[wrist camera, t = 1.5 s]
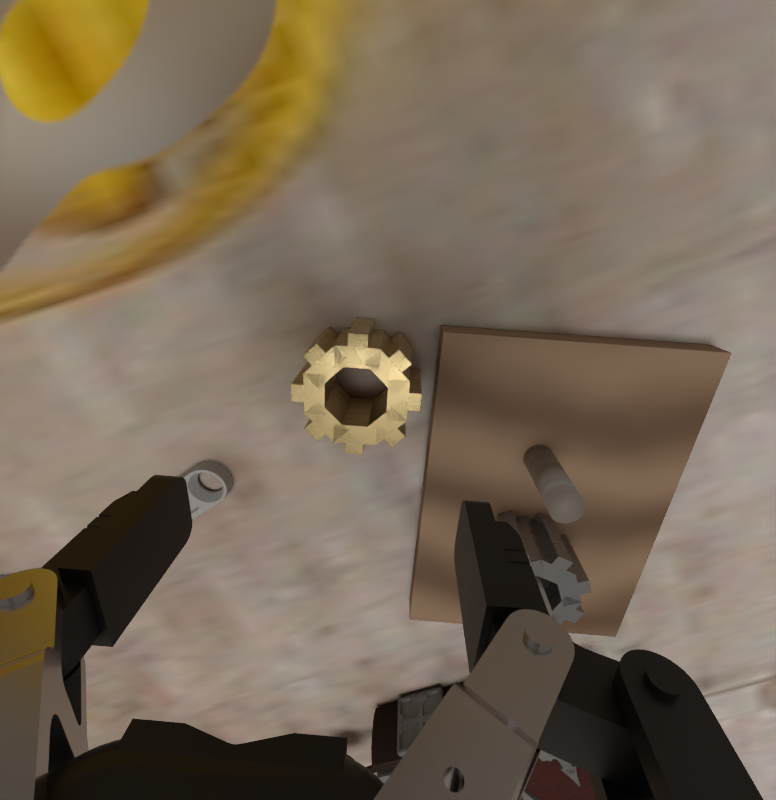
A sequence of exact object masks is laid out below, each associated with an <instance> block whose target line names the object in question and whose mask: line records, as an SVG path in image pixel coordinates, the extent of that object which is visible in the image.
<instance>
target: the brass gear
mask: <svg viewBox="0 0 776 800" xmlns="http://www.w3.org/2000/svg"><path fill="white" fill-rule="evenodd" d="M373 329H374V318H360V317H357V318H356V320H355V322H354V324H353V325H352V327H351V328H345V329H344V330H343V331H341V332H340V333H339V334H337V333H336V332H335V331H334V330H333V329H332V328H331V327H329V328H328V329H327V330H326V331H324V332H323V333H322V334H321V335H320V336H319V337H318V338H317V339H316V341H315V342H314V343H313V344H312V345H311V347H310V348H309V349H308V350H307V352H306V353H305V354H304V355H303V357H304V358H305V359H306V360H307V361H308V362H307V363H306V365H305V366H304V367H303V369H302V370H301V371H300V373H299V374H298V375H297V377H296V378H295V379H294V381H293V382H292V384H291V399H292V402H303V403H304V414H305V415H306V416H307V417H308V418H309V420H308V422H307V424H306V426H305V428H304V429H305V430H306V431H307V432H308V433H309V434H310V435H311V436H312V437H313V438H314V439H315V440H317V441H318V440H319V439H320V438H321V437H323V436H324V435H325V434H326V435H327V436H328V437H329V438H330V439H331V440H332V441H333V442H338V443H345V453H346V454H359V455H363V451H364V446H365V445H376V444H377V443H379V442H380V441H381V440H382V439H384V440H385V441H386V442H387V443H388V444H389V445H390V446H391V447H392V446H393V445H395V444H396V443H397V442H399V441H400V440H401V439H403V438H404V437H405V422H406V421H407V410H409V411H420V405H421V395H422V392H421V380H420V370H413V369H410V365H412V355H411V343H410V342H409V341H408V340H407V339H406V338H405V336H404V335H403V334H402V333H401V332H399V333H398V334H397V335H396V336H394V337H393V338H392V339H391V337H390V336H389V335H388V334H387V333H386V332H385V331H383V330H373ZM343 367H350V368H363V369H371V370H372V371H373V373H374V374H375V375H376V376H377V377H378V378H379V379H380V380H381V381H382V382H383V383H384V384H385V385H386V386H387V388H386V389H385V390H384V391H382V392H381V393H380V394H379V395H378V396H376V397H375V398H374V399H365V398H352V397H350V396H349V395H348V394H347V393H346V391H345V390H344V389H343V388H342V387H341V386H340V385H339V384H338V383H337V382H336V373H337V372H338V371H340V370H341V369H342V368H343Z"/></svg>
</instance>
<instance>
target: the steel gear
mask: <svg viewBox="0 0 776 800" xmlns="http://www.w3.org/2000/svg"><path fill="white" fill-rule="evenodd" d="M497 515H498V519H499V521H500V522H508V523H509V524H510V525H511V526H512V527H513V528H514V530H515V531H516V532H517V533H518V534H519V535H520V537H521V540H522V542H523V545H524V548H525V550H526V551H525V553H527V556H528V559H529V561H530V566H531V567H532V569H533V572H534V575H535V576H539V577H540V580H541V582H542V585H543V588H544V590H545V593H546V596H547V598H548V601H549V604H550V606H551V609H552V612H553V615H552V618H553V619H555V620H556V621H557V622H559V623H560V624H562V623H563V622H564V621H565V620H567V621H570V622H572V623H575V622H576V621H577V620H578V619H579V618H580V617H581V616H582V615H583V614H584V611H583V609H582V607H581V605H580V604H581V603H582V601H581V596H580V595H582V594H587V593H592V591H591V586H590V581H589V579H588V577H587V575H586V573H585V571H584V569H583V567H582V565H581V563H580V561H579V559H578V557H577V555H576V553H575V551H574V550H573V548H572V546H571V544H570V542H569V540H568V538H567V536H566V534H563V535H559V533H558V530H557V528H556V526H555V524H554V522H553V520H552V518H550V517H548V516H546V515H544V514H542V513H539V512H538V513H537V515H536V516H535V517H534V518H533V519H531V518H528V517H526V516H520V517H516V518H515V516H514V514H513V511H512V510H510V511H506V512H502V513H498V514H497Z"/></svg>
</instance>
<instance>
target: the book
mask: <svg viewBox="0 0 776 800" xmlns="http://www.w3.org/2000/svg"><path fill="white" fill-rule="evenodd" d="M449 689H450V688H448V689H444V690H442V688H441V687H438V688H437V687H434V688H430V689H427V690H423V691H420V692H416V693H412V694H409V695H406V696H405V697H402V698H399V699H398V702H397V703H393V704H390V705H386V706H383V707H379V708H376V710H375V714H374V720H373V731H372V765H371V766H368V767H366V768H367V769H369V770H370V771H371V772H372V773H376V772H377V777H378V778H379V779H380V780H381V781H382V782H383V783H384V784H385V782H386V781H387V779H388V778H389V776H390V775H391V773H392V772H393V771H394V769H395V768H396V766H397V765H398V763H399V762H400V760H401V759H402V757H403V756H404V755H405V753H406V752H407V750H408V749H409V747H410V746H411V744H412V743H413V741H414V740H415V739H416V737H417V736H418V734H419V733H420V731H421V730H422V728H423V727H424V725H425V724H426V723H427V721H428V720H429V718H430V717H431V715H432V714H433V712H434V711H435V709H436V708H437V707H438V705H439V704H440V702H441V701H442V699H443V698H444V696H445V695H446V693H447V692H448V691H449ZM346 757H347V758H350V759H352V760H354V759H353V758H352V757H350V756H349V755H346ZM354 761H355V760H354ZM521 800H596V797H595V794H594V790H593V787H592V783H591V780H590V776H589V773H588V772H587V771H585V770H583V769H581V768H579V767H576V766H574V765H572V764H570V763H568V762H566V761H563V760H561V759H559V758H557V757H555V756H553V755H551V754H548V753H546V752H544V751H542V750H541V752H540V754H539V757H538V759H537V762H536V764H535V766H534V769H533V771H532V774H531V776H530V778H529V781H528V783H527V786H526V788H525V790H524V793H523V795H522V798H521Z"/></svg>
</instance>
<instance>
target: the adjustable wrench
mask: <svg viewBox="0 0 776 800" xmlns="http://www.w3.org/2000/svg"><path fill="white" fill-rule="evenodd" d="M202 472H203V473H209V474H211V475H213V476H215V477H216V478H218V479H219V481H220V482H221V483H222V485H223V488H222V489H221V490H220V491H211V490H209V489H206V488H205V487H204V486H202V485H201V483H200V482H199V479H198V475H199V474H200V473H202ZM181 477H183V478H184V479H185V480H186V483H187V489H188V496H189V502H190V509H191V516H192V520H193V519H194V518H196V517H197V516H199V515H201V514H202V513H204V512H206V511H207V510H209V509H211V508H212V507H214V506H216V505H217V504H219V503H220V502H222V501H223V500H224V499H225V497H226V496H227V494H228V493H229V491H230V490H231V488H232V485H233V478H232V475H231V473H230V472H229V470H228V469H227V468H226V467H224V466H223V465H222V464H219V463H217V462H213V461H205V462H201V463H199V464H197V465H196V466H195V467H193V468H192V469H190V470H189V471H188V472H186V473H185V474H183V475H182V476H181ZM7 576H9V575H0V580H1V579H3V578H5V577H7Z"/></svg>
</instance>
